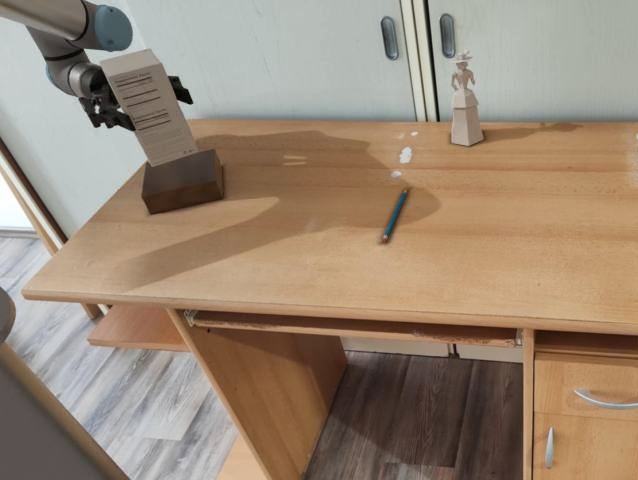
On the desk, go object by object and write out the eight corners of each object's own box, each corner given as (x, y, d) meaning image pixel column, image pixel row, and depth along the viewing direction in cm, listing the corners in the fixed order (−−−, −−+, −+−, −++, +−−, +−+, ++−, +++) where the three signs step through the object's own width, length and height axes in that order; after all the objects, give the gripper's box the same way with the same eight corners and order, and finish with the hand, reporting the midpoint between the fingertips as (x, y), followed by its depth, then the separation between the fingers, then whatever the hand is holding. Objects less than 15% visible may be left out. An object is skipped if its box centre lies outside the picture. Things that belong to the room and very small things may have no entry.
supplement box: (141, 149, 115) (97, 60, 103) (187, 134, 118) (150, 46, 106) (152, 168, 109) (106, 76, 97) (200, 152, 112) (162, 61, 100)
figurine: (479, 127, 129) (474, 40, 116) (486, 144, 124) (482, 54, 111) (448, 131, 129) (440, 45, 116) (453, 148, 123) (445, 59, 110)
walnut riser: (150, 214, 114) (140, 196, 111) (154, 180, 123) (145, 162, 121) (223, 198, 116) (215, 180, 113) (221, 165, 126) (214, 148, 123)
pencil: (381, 243, 102) (380, 240, 101) (404, 190, 113) (404, 187, 113) (386, 243, 102) (385, 240, 101) (408, 190, 113) (408, 187, 113)
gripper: (161, 83, 124) (222, 104, 114) (53, 129, 112) (111, 157, 102) (144, 46, 119) (207, 65, 109) (29, 90, 107) (88, 116, 97)
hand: (160, 109), depth 106 cm, fingers closed on supplement box, 11 cm apart
